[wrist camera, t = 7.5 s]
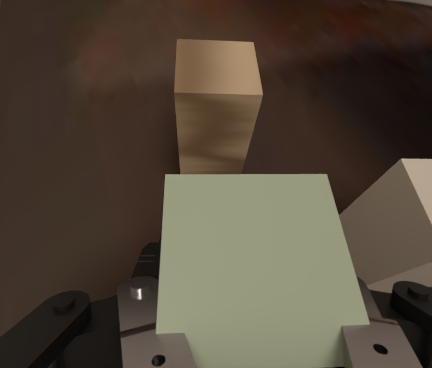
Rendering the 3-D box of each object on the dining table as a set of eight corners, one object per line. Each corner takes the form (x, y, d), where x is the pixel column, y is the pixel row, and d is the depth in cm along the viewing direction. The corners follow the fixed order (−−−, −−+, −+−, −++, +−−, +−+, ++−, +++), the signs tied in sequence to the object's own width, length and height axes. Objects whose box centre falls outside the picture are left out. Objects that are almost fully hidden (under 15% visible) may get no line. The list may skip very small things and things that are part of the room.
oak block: (232, 147, 25) (253, 42, 16) (236, 190, 23) (263, 94, 14) (182, 146, 25) (177, 38, 16) (181, 190, 22) (174, 92, 14)
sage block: (258, 264, 16) (326, 174, 8) (268, 353, 14) (381, 364, 6) (181, 266, 16) (165, 174, 7) (180, 358, 14) (153, 376, 5)
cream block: (372, 234, 22) (491, 159, 13) (393, 296, 19) (554, 254, 11) (316, 235, 21) (400, 158, 13) (331, 298, 19) (446, 256, 10)
